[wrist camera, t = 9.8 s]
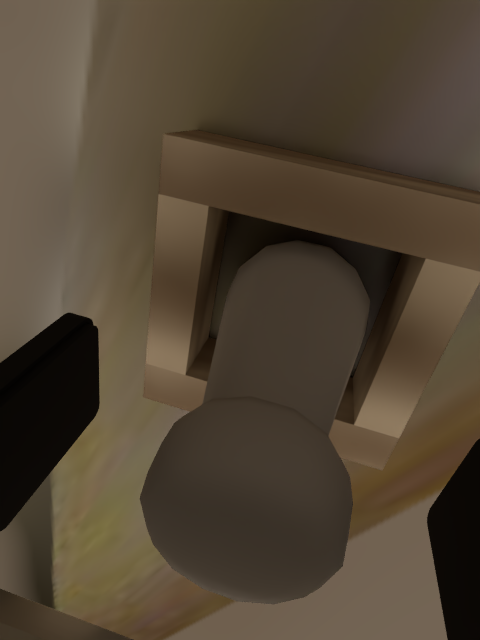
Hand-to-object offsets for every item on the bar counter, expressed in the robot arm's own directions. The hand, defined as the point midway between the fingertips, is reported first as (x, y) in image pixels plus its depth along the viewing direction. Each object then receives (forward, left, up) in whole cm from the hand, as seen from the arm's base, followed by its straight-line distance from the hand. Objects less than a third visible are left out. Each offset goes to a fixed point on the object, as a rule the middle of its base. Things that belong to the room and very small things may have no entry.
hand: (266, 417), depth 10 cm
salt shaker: (+1, 0, -10) cm, 10 cm away
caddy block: (+1, 0, -10) cm, 10 cm away
